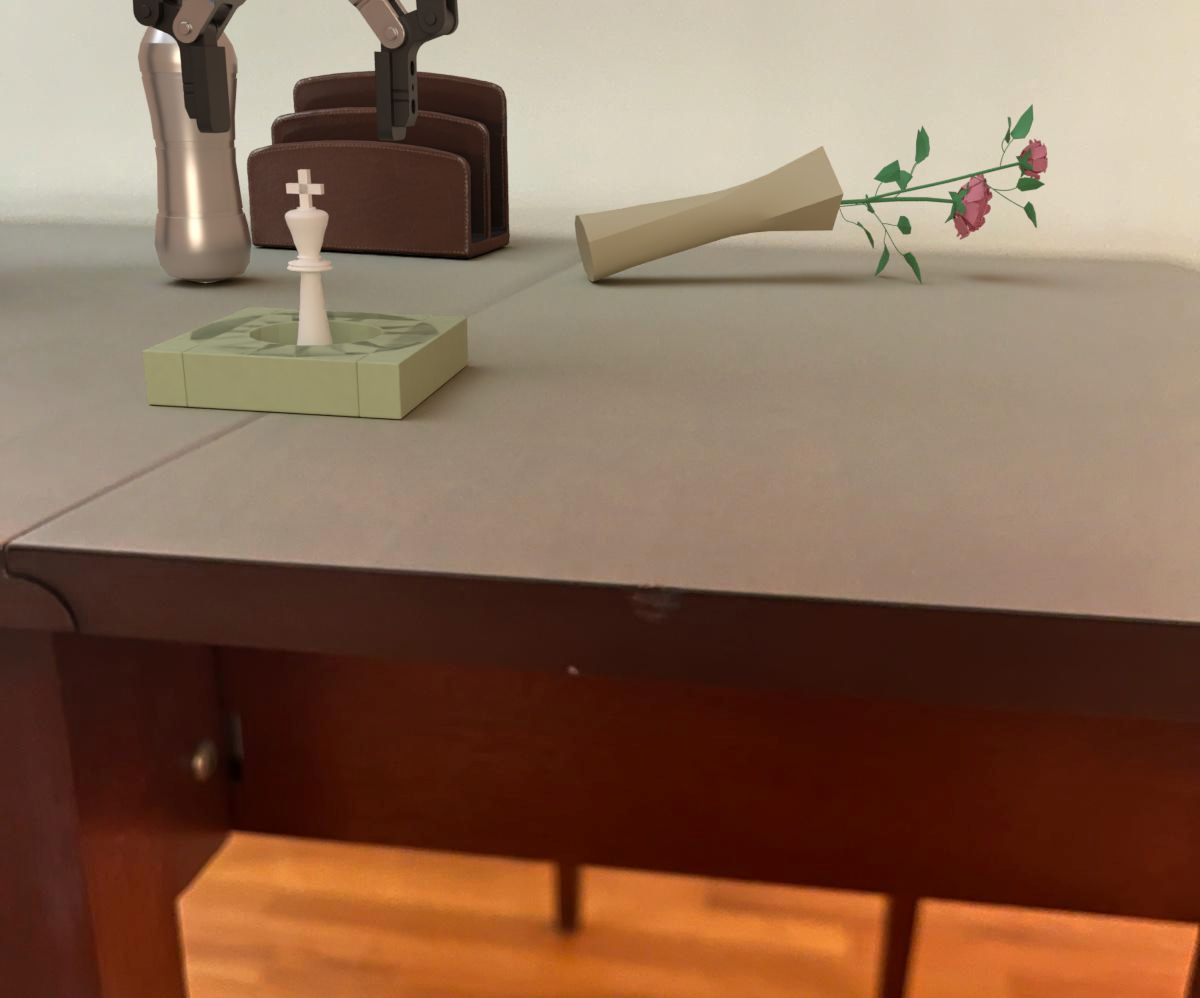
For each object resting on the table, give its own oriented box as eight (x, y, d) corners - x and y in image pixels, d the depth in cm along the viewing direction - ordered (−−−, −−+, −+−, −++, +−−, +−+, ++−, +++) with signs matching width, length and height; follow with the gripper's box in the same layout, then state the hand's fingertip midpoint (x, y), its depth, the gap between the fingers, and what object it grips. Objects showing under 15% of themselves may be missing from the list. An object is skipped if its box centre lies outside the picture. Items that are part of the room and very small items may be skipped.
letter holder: (306, 235, 120) (295, 68, 115) (511, 246, 116) (510, 72, 110) (250, 247, 112) (236, 67, 106) (470, 260, 107) (466, 72, 101)
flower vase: (601, 371, 103) (1012, 265, 108) (627, 355, 91) (1089, 236, 95) (563, 221, 102) (980, 120, 106) (584, 185, 90) (1054, 72, 94)
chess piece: (347, 396, 62) (335, 175, 59) (249, 390, 63) (231, 171, 59) (381, 374, 67) (372, 167, 63) (289, 369, 68) (274, 164, 64)
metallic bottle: (138, 283, 93) (103, -32, 85) (204, 271, 98) (177, -25, 91) (210, 291, 90) (181, -33, 83) (274, 278, 96) (252, -26, 88)
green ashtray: (147, 404, 60) (141, 350, 59) (252, 353, 71) (248, 306, 70) (401, 419, 59) (399, 363, 58) (468, 364, 70) (467, 316, 69)
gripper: (71, -300, 52) (117, 135, 58) (420, -304, 50) (430, 146, 56) (159, -258, 59) (192, 127, 65) (469, -259, 57) (473, 137, 63)
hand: (303, 136), depth 61 cm, fingers open, 8 cm apart
